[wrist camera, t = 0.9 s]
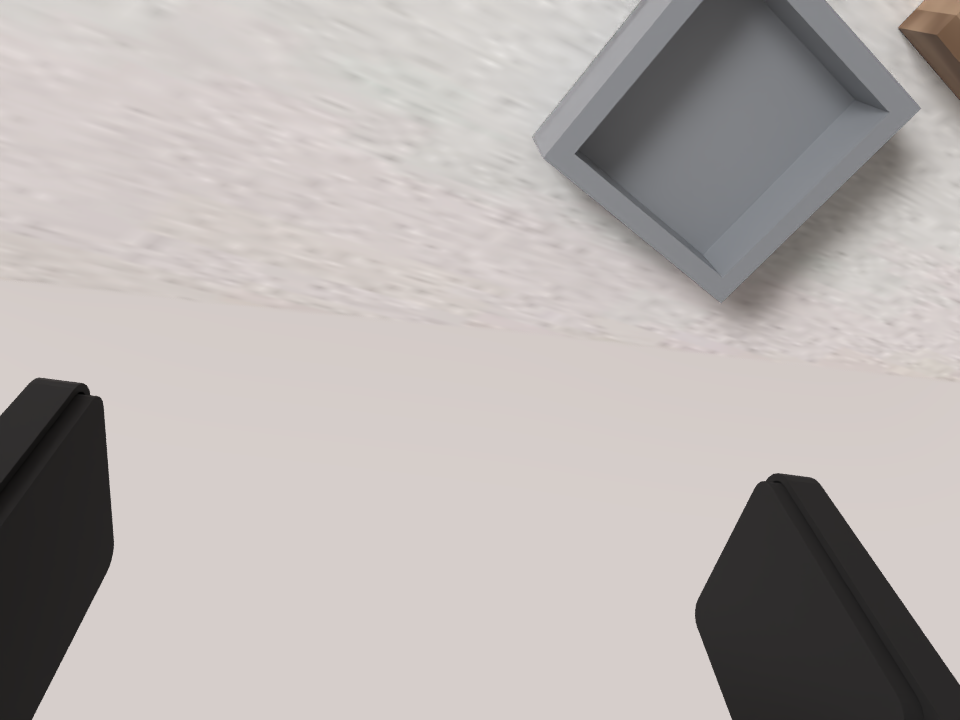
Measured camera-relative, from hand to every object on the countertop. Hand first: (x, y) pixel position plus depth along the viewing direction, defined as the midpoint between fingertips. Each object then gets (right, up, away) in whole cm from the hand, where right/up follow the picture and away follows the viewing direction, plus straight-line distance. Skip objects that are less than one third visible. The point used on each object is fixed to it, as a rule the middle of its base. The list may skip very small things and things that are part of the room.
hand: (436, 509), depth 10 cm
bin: (+12, +14, +25) cm, 31 cm away
